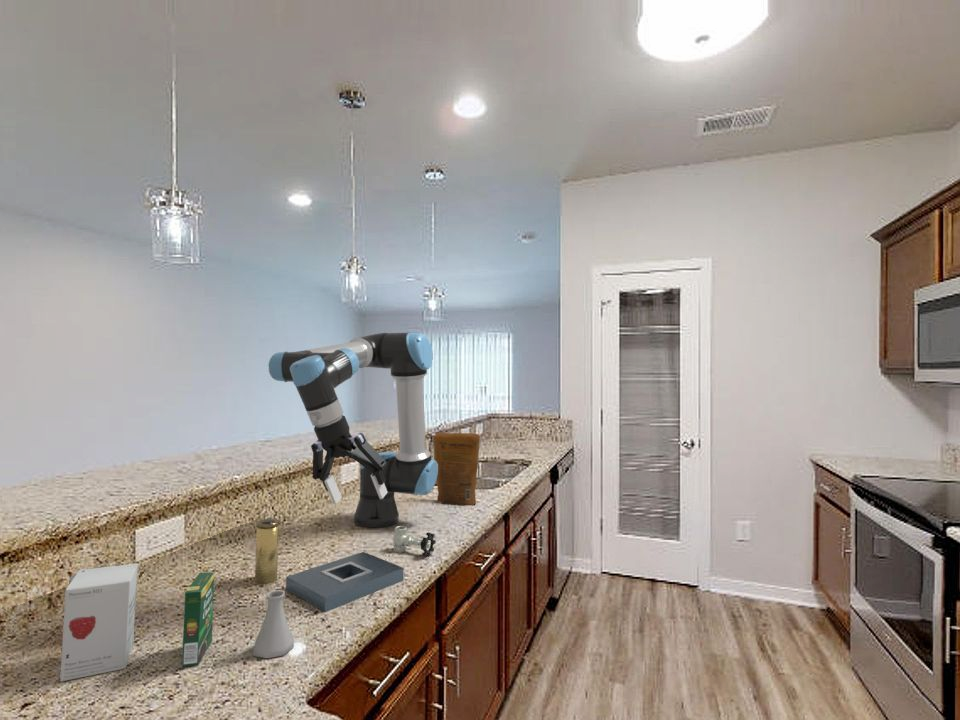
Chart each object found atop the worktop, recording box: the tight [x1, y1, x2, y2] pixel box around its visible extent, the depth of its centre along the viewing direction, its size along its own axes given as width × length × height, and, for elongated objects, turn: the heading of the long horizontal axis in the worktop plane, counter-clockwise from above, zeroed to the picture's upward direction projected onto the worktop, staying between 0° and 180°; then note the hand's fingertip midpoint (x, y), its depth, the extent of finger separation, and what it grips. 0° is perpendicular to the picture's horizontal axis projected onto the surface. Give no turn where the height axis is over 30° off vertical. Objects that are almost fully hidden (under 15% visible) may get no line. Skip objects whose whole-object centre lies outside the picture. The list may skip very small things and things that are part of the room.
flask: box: [252, 589, 295, 659], centre depth 91 cm, size 7×7×10 cm
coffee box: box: [181, 572, 215, 668], centre depth 88 cm, size 8×3×13 cm, turn 13°
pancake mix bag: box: [432, 432, 481, 506], centre depth 195 cm, size 7×19×28 cm, turn 74°
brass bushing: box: [254, 518, 280, 585], centre depth 120 cm, size 5×5×14 cm
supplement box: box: [59, 562, 139, 683], centre depth 85 cm, size 9×9×15 cm
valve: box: [392, 525, 437, 558], centre depth 140 cm, size 7×7×12 cm
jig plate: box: [285, 551, 404, 613], centre depth 118 cm, size 22×16×3 cm
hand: (360, 498), depth 121 cm, fingers open, 13 cm apart
